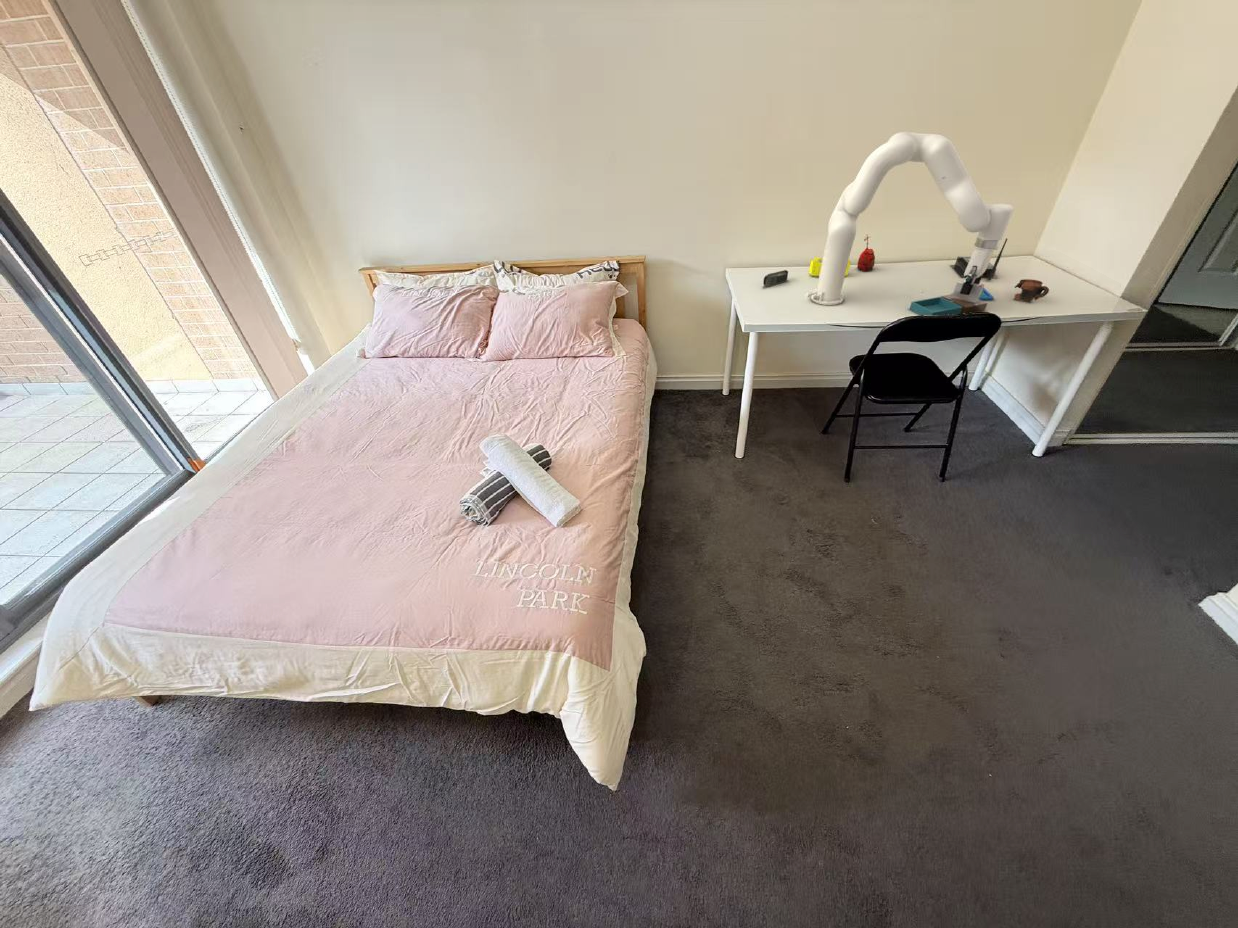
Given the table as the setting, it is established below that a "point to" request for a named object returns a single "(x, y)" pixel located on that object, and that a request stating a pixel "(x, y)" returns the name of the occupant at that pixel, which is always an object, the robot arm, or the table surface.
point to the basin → (935, 307)
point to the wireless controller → (963, 262)
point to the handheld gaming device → (985, 295)
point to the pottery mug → (1030, 290)
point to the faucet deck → (967, 304)
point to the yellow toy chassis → (816, 267)
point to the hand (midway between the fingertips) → (968, 290)
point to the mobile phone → (775, 278)
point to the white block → (972, 296)
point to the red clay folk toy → (866, 259)
